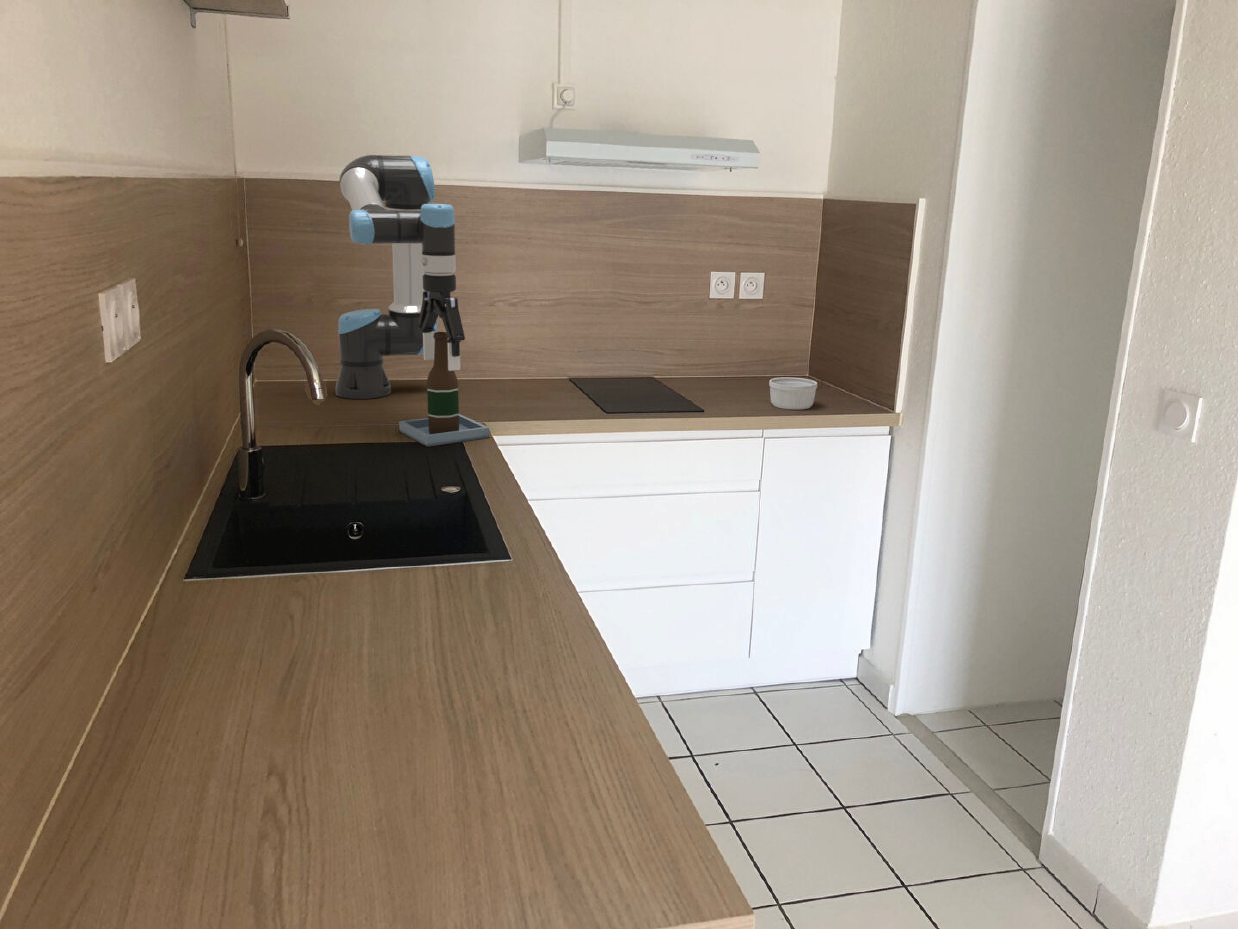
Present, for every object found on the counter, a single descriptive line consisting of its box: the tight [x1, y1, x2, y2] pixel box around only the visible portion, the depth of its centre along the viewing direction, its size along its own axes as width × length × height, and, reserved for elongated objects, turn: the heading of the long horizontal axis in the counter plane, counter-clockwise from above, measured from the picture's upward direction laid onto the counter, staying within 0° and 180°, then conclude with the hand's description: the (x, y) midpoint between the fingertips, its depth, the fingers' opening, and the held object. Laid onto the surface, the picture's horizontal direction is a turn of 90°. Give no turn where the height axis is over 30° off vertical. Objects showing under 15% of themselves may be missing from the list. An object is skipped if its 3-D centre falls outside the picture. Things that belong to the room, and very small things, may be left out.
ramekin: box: [768, 376, 818, 411], centre depth 273 cm, size 13×13×7 cm
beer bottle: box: [426, 331, 460, 434], centre depth 231 cm, size 8×8×24 cm
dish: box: [398, 413, 490, 448], centre depth 235 cm, size 16×16×2 cm
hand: (441, 364), depth 230 cm, fingers open, 13 cm apart
